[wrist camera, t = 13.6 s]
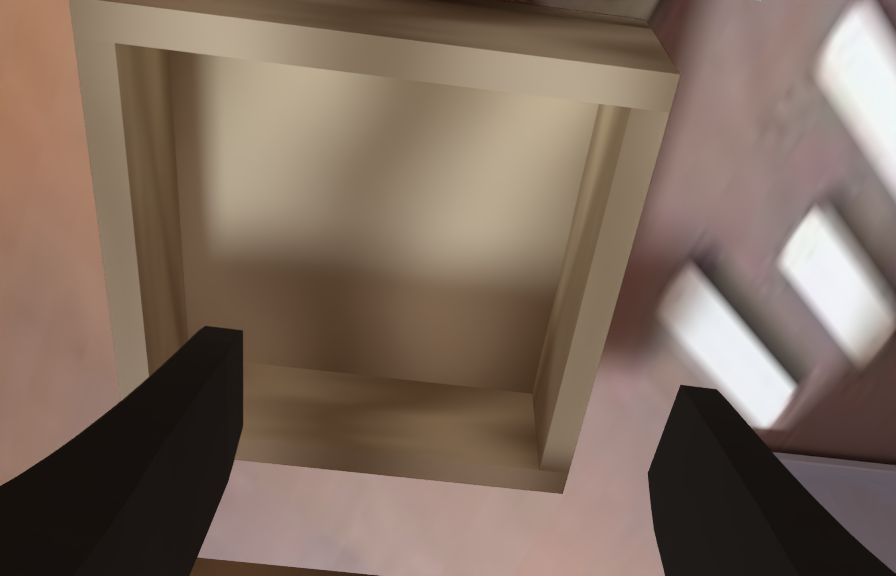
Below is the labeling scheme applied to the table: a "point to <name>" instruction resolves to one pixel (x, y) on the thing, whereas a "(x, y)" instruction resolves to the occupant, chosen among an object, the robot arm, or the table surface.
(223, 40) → the open wooden tray
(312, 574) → the brown rectangular block
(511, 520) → the table surface
